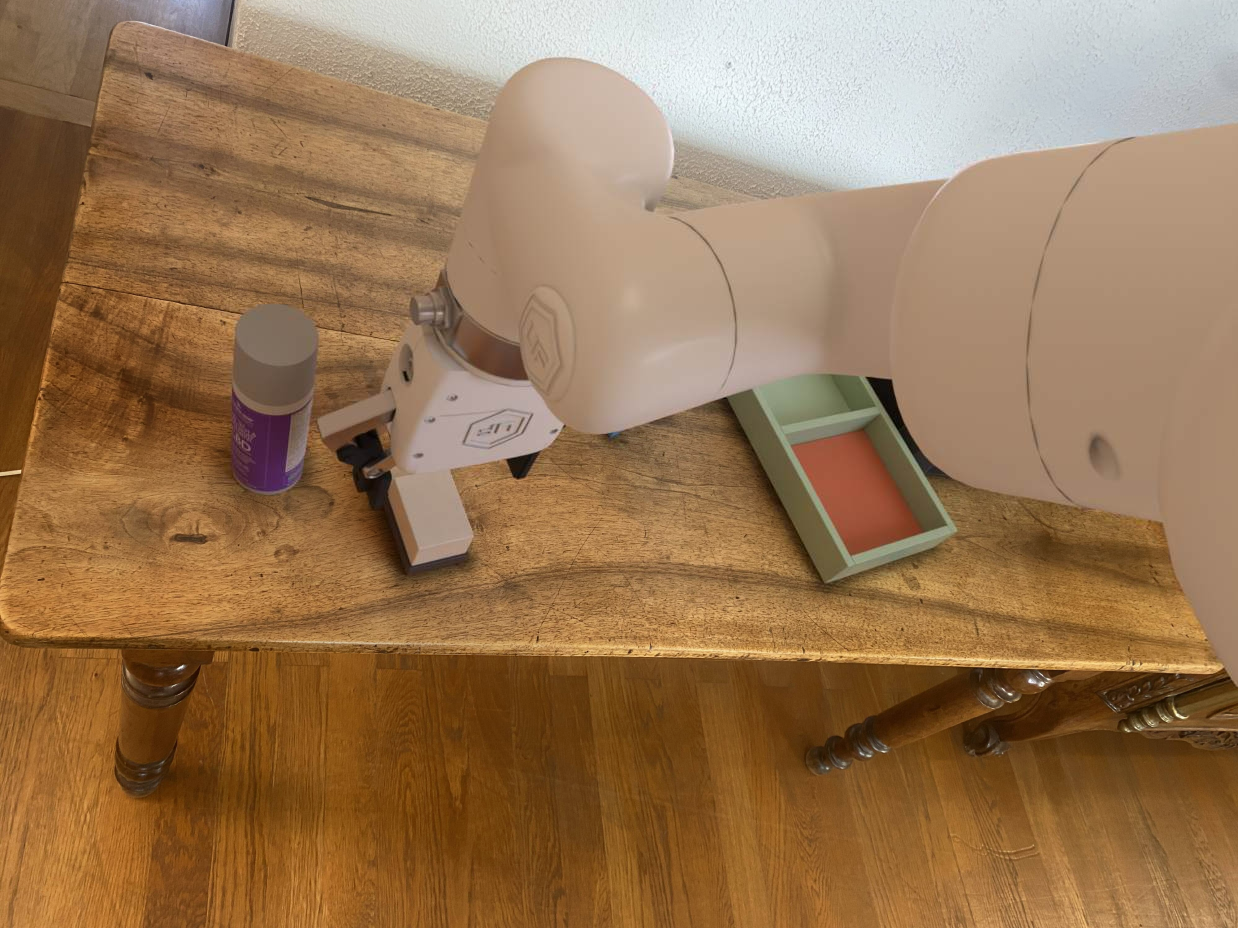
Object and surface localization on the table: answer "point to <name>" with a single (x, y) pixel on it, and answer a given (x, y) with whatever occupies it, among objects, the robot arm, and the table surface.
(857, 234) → the robot arm
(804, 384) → the tray
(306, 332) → the container
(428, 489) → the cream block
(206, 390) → the table surface
